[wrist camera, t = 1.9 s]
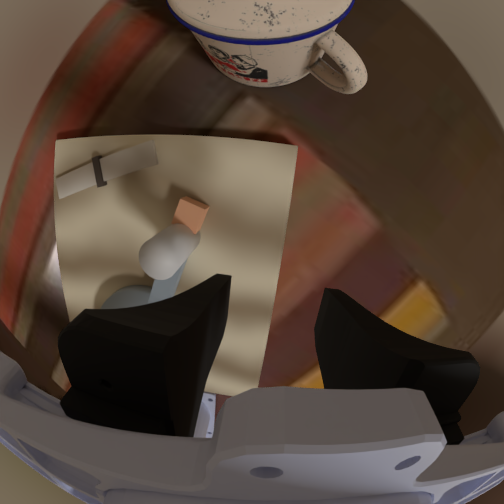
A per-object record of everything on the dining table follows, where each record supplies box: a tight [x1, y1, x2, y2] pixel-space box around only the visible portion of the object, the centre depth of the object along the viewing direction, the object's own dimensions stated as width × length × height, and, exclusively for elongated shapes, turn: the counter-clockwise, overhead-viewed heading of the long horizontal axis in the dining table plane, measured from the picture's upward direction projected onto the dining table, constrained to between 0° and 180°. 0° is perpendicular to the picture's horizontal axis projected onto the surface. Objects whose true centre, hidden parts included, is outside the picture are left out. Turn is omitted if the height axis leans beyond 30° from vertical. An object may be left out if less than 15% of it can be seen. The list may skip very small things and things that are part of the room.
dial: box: [100, 196, 210, 309], centre depth 19 cm, size 18×10×5 cm, turn 156°
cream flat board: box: [54, 135, 298, 396], centre depth 21 cm, size 23×20×2 cm
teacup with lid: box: [166, 0, 367, 94], centre depth 10 cm, size 12×9×12 cm
